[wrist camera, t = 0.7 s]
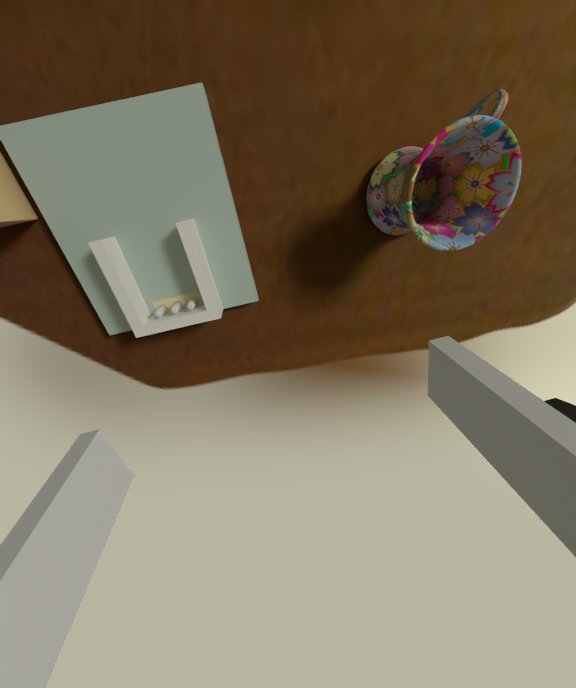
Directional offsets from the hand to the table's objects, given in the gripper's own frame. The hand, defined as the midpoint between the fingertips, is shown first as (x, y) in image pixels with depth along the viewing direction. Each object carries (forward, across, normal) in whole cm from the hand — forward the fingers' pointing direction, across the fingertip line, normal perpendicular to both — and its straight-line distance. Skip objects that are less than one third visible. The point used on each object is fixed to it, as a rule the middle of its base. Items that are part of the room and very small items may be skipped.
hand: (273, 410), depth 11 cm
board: (+25, -9, +7) cm, 28 cm away
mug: (+25, +18, +5) cm, 32 cm away
